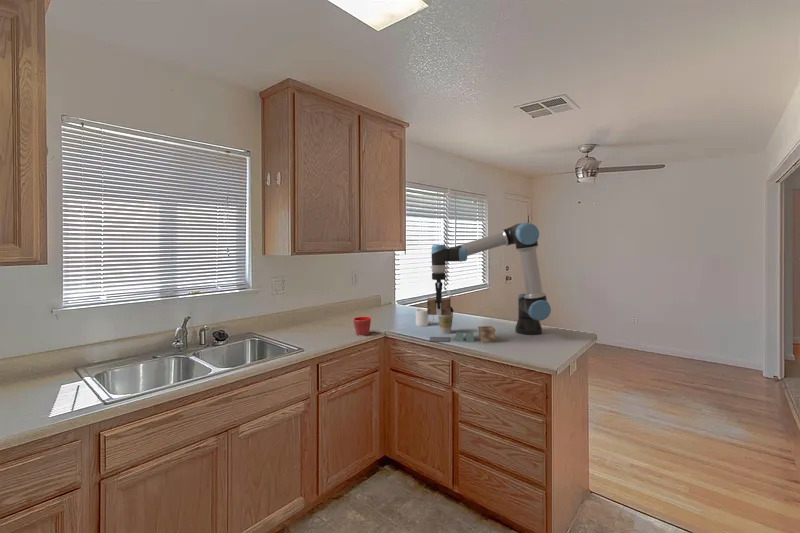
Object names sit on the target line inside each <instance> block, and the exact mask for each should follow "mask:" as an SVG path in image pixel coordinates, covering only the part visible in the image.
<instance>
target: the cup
mask: <svg viewBox="0 0 800 533" xmlns="http://www.w3.org/2000/svg"><path fill="white" fill-rule="evenodd" d="M434 320H435V319H434V315H431V320H429V315H427V308H418V309H417V308H416V309H415V326H417V327H420V328H421V327H423V328H424V327H428V326H429V324H431V323H433V322H434Z"/></svg>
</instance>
